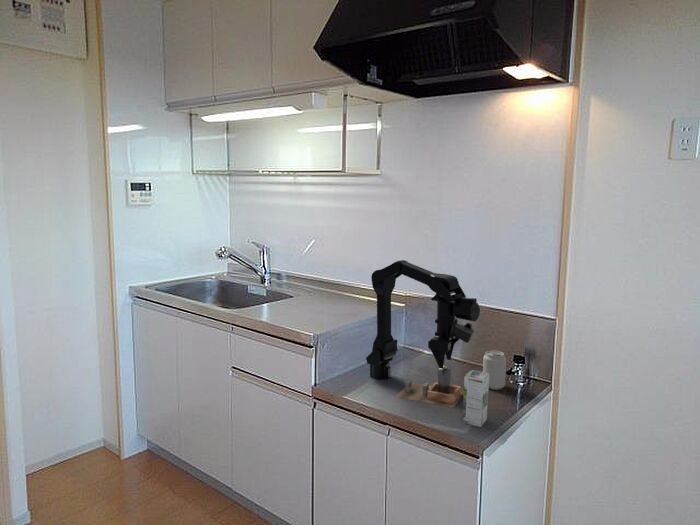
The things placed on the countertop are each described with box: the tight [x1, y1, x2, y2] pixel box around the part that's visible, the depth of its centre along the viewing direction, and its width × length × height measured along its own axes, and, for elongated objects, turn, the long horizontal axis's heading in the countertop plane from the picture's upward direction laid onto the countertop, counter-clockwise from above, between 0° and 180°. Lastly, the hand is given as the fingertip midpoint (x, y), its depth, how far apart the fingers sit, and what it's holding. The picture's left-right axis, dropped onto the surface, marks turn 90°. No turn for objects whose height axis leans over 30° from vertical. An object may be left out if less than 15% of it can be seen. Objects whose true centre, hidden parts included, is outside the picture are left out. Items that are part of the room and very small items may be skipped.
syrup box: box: [461, 369, 490, 428], centre depth 150 cm, size 6×6×14 cm
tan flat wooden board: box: [395, 379, 464, 408], centre depth 168 cm, size 19×14×4 cm
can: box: [482, 350, 507, 391], centre depth 177 cm, size 8×8×12 cm
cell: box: [437, 365, 452, 394], centre depth 166 cm, size 4×4×10 cm
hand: (445, 363), depth 165 cm, fingers open, 9 cm apart
